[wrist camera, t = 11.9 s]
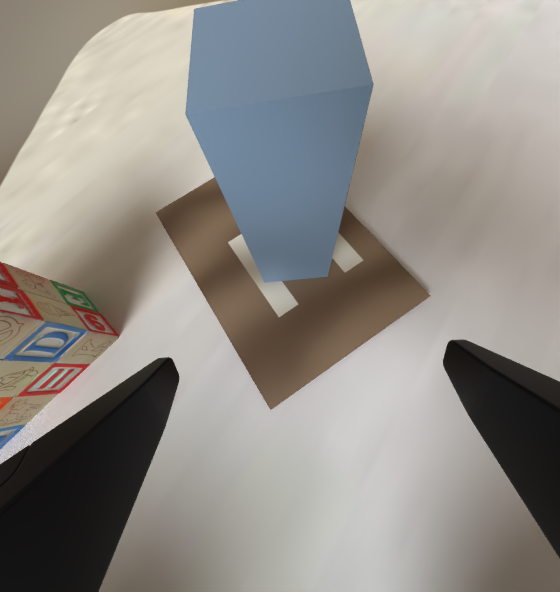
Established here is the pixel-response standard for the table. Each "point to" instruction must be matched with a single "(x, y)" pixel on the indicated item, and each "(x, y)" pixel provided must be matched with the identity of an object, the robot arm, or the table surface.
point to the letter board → (288, 294)
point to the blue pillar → (280, 122)
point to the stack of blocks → (42, 343)
